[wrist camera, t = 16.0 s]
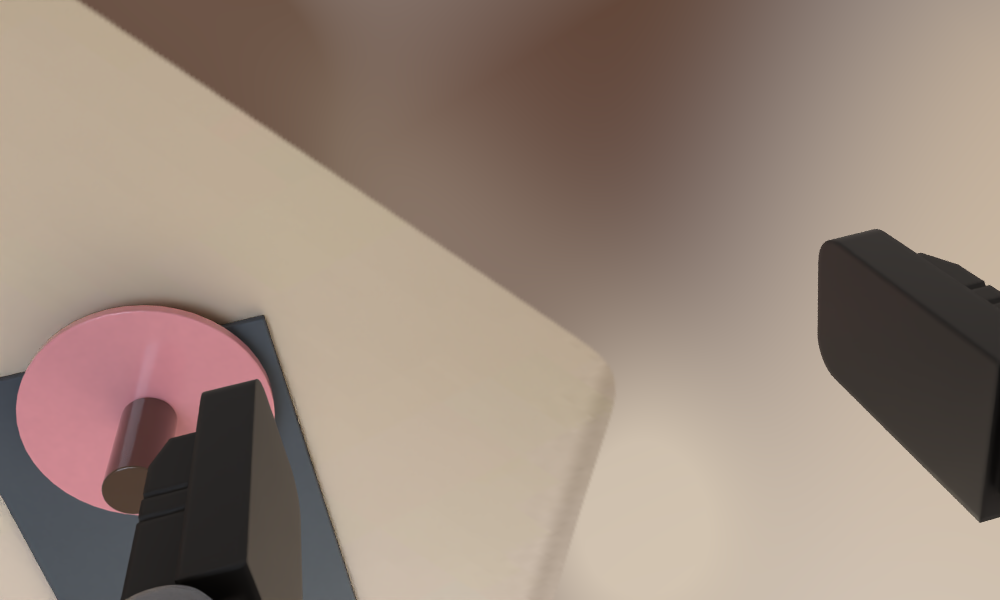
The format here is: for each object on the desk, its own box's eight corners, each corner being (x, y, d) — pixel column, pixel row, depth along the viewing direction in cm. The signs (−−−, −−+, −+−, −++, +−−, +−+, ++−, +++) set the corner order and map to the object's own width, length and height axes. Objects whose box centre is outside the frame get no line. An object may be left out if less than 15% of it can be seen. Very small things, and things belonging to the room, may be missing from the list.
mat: (-52, 389, 41) (-55, 394, 40) (263, 314, 42) (263, 318, 42) (110, 689, 50) (109, 695, 50) (363, 620, 52) (363, 625, 51)
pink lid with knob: (-20, 332, 39) (-70, 415, 34) (236, 272, 41) (229, 343, 35) (76, 525, 45) (47, 623, 39) (301, 467, 46) (303, 555, 40)
